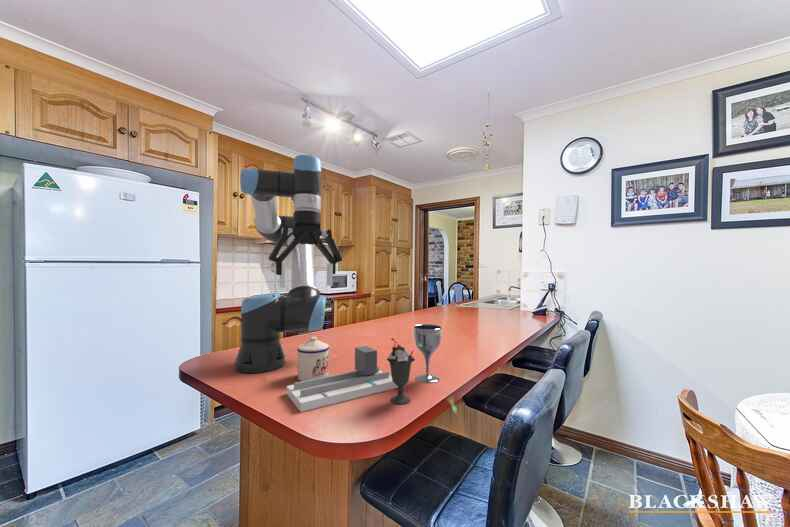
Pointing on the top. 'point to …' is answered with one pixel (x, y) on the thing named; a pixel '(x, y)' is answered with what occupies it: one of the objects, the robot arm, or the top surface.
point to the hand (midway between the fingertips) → (306, 286)
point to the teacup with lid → (313, 359)
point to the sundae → (400, 371)
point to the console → (337, 389)
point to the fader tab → (365, 361)
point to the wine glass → (427, 347)
